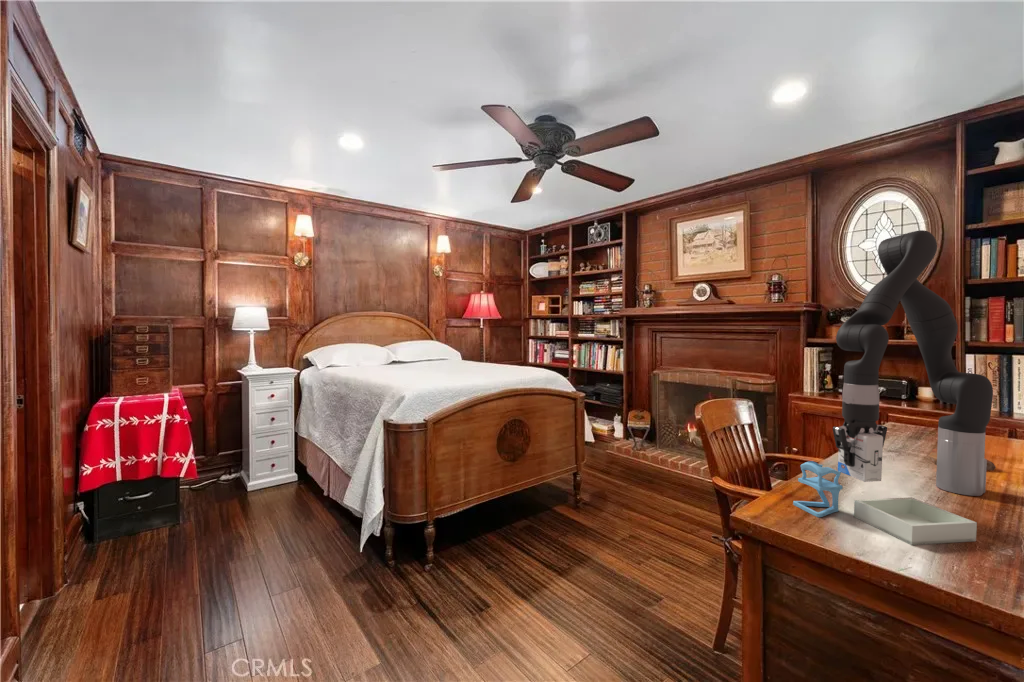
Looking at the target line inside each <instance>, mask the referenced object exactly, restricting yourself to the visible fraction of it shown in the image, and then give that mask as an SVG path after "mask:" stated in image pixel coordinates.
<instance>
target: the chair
mask: <svg viewBox="0 0 1024 682" xmlns="http://www.w3.org/2000/svg"><path fill="white" fill-rule="evenodd" d="M800 470H801V472H802V474H801V475H802V476H801V477H798V478H797V479H798V480H797V482H799V483H801V484H804V485H807V486H808V487H812V488H813V489H815V490H816V492H817V494H818V495H819V496H820V499H821V501H806V500H793V502H792V505H793V506H794V507H796V508H799V509H801V510H803V511H804V512H806V513H809V514H810V515H812V516H815V517H817V518H822V517H826V516H828V515H831V514H834V513H836V512H839V497H840V496H839V495H840V492H841V490H843V488H844V487H843V485H841V484H840V483H839V479H840V476H841V474H842V472H840V471H838V470H836V469H834V468H831V467H829V466H824V465H823V464H819V463H818V462H816V461H812V460H810V461H806V462H804V463H802V464H800ZM806 471H810V472H811V473H814V474H815V475H816V476H813V477H807V472H806ZM828 474H834V475H835V476H834V478H833V481H830V480H828V479H827V478H824V476H826V475H828ZM824 491H826V492H830V493H831V498H832V505H831V506H830V501H829V500H828V498H827V496H826V494H825V492H824ZM810 507H817V508H818V507H819V508H825V509H823V510H821V511H816V510H814V509H812V508H810Z"/></svg>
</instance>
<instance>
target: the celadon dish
mask: <svg viewBox="0 0 1024 682" xmlns="http://www.w3.org/2000/svg"><path fill="white" fill-rule="evenodd" d="M853 504H854V506H853V509H854V510H853V512H854V513H853V517H854V518H855V519H858V520H859V521H862V522H864V523H866V524H868V525H870V526H872V527H874V528H876V529H879V530H880V531H882V532H883V533H886V534H888V535H890V536H893V537H895V538H896V539H898V540H901V541H902V542H904V543H906V544H908V545H910V546H919V545H920V546H921V545H934V544H939V545H940V544H950V543H951V544H952V543H954V544H955V543H967V542H968V543H969V542H971V543H972V542H976V541H977V530H978V529H977V527H978V526H977V525H978V523H977V521H974V520H971V519H968V518H966V517H963V516H961V515H958V514H956V513H953V512H950V511H948V510H946V509H943V508H940V507H938V506H935V505H933V504H929V503H927V502H925V501H922V500H920V499H917V498H915V497H912V496H911V497H892V498H891V497H890V498H889V497H888V498H873V499H872V498H870V499H854V502H853Z"/></svg>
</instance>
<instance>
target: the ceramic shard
mask: <svg viewBox="0 0 1024 682" xmlns="http://www.w3.org/2000/svg"><path fill="white" fill-rule="evenodd" d="M929 459H930V460H931V461H932V462H933V464H934V465H936V466H937V447H935V448H933V449H931V452H930V453H929ZM985 459H986V460H987V467H986V471H995V470H996V468H997V467H996V465H995V463H994V462H992V461H991V460H989V459H987V458H985Z"/></svg>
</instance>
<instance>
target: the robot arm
mask: <svg viewBox="0 0 1024 682" xmlns="http://www.w3.org/2000/svg"><path fill="white" fill-rule="evenodd" d="M937 249H938V243H937V239H936V237H935V236H934V235H933V234H932V233H931V232H929V231H927V230H924V229H922V230H915V231H914V230H913V231H910V232H907V233H903V234H899V235H896V236H892V237H888V238H885V239H883V240H882V241H881V242H880V243H879V244H878V248H877V254H878V258H879V262H880V263H881V267H883V270H884V272H885V274H886V276H885V277H883V278H882V279H881V280H880V281H879V282H877V283H876V284H874V286H873V287H872V288H871V289H870V290H869V291H868V292H867V294H866V295H865V297H864V299H863V300H862V303H861V305H860V306H859V308H858V310H856V311H855V312H854V313H853V314H852V315H851V316H850V317H849V318H847V319H846V321H845V322H843V324H842V325H841V326H840V327H839V329H838V330H837V333H836V337H835V341H836V345H837V346H838V347H839V348H840V349H841V350H843V351H847V352H864V354H863V355H862V357H861V359H854V360H848V361H846V362H845V363H844V367H843V368H844V369H843V387H842V393H841V394H842V397H841V398H842V400H841V401H842V404H841V405H842V406H841V416H842V418H843V419H844V422H843V423H842V425H840V426H835V425H834V426H833V427H832V432H833V433H832V434H833V438H834V442H835V447H836V448H837V449H838V450H839V449H842V450H843V451H844V463H845V464H846V465H847V466H850V467H854V466H855V453H853V452H854V451H855V445H856V444H857V439H858V435H859V434H864V433H869V434H872V433H874V434H878V435H881V436H883V447H884V446H885V440H886V436H887V434H888V433H887V432H888V427H887V426H884V425H881V424H877V421H879V419H880V389H879V377H880V376H879V373H880V372H879V369H880V366H881V362H882V360H883V357H884V354H885V352H886V349H887V347H888V344H889V339H890V338H889V333H888V330H887V329H886V328H885V327H884V325H886V324H887V323H889V321H890V320H891V319H892V318H893V315H894V313H895V312H896V310H897V308H898V305H899V304H901V305H902V308H903V310H904V313H905V317H906V318H907V322H908V324H909V326H910V329H911V332H912V333H913V335H914V337H915V340H916V343H917V346H918V348H919V352H920V353H921V356H922V360H923V362H924V366H925V370H926V373H927V379H928V382H929V384H930V385H929V386H930V389H931V390H932V391H931V392H932V393H933V395H934V396H935V397H936V399H938V400H939V401H941V402H944V403H947V404H952V405H956V406H955V409H954V412H953V414H950V415H942V416H940V417H939V418H938V422H937V423H938V425H937V426H938V427H937V445H936V446H937V447H936V448H937V465H936V473H935V486H936V487H937V488H938V489H941V490H944V491H946V492H950V493H954V494H959V495H962V496H963V495H965V496H975V497H977V496H978V497H980V496H982V495H983V494H985V493H986V489H987V488H986V487H987V470H986V467H987V460H988V459H987V458H985V455H986V454H985V453H986V452H985V450H986V432H987V427H988V424H989V422H990V420H991V414H992V406H993V400H994V398H993V397H994V388H993V384H992V382H991V381H990V379H989V378H988V377H986V376H985V375H983V374H978V373H971V372H962V371H959V370H958V369H957V367H956V365H955V362H954V361H953V356H952V349H953V345H954V343H955V340H956V338H957V336H958V335H957V334H958V331H959V327H958V323H957V320H956V317H955V316H954V312H953V310H952V308H951V306H950V304H949V303H948V301H946V300H945V299H944V298H943V297H941V296H940V295H938V294H937V293H936V292H934V291H933V290H931V289H929V288H928V287H927V286H925V285H923V284H922V282H920V281H919V279H918V278H919V276H920V275H921V274H923V272H924V271H925V270H926V268H927V267H928V266H929V264H930V263H931V262H932V260H933V259H934V257H935V256H936V254H937V251H938V250H937ZM848 436H849V437H851V438H854V440H850V439H848ZM841 443H842V444H841ZM849 443H851V445H850V447H849ZM986 459H987V460H986Z"/></svg>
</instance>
